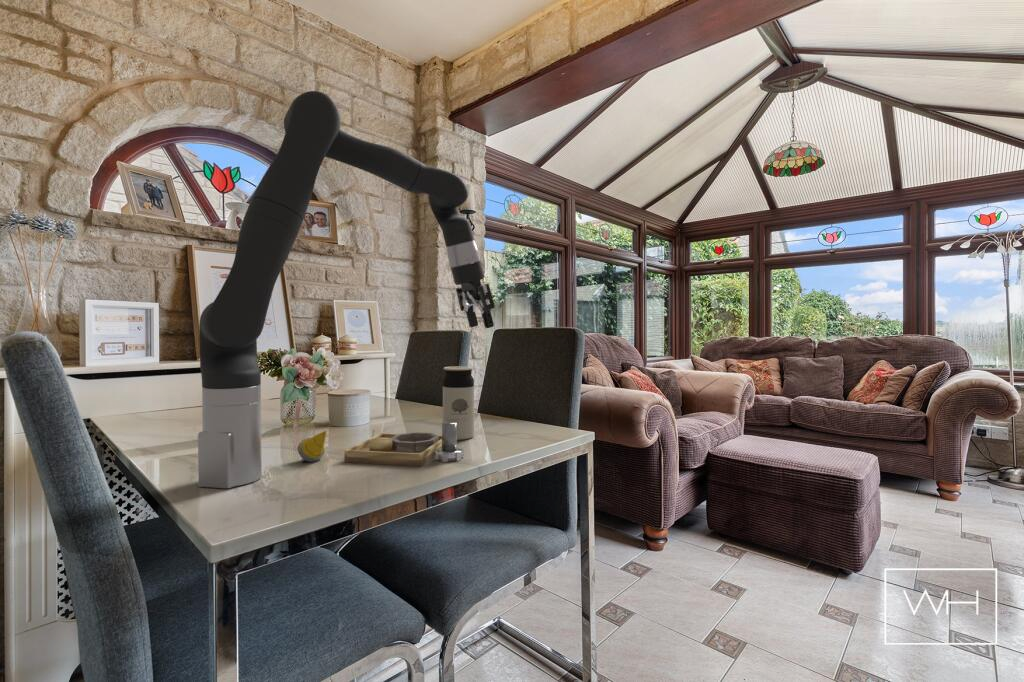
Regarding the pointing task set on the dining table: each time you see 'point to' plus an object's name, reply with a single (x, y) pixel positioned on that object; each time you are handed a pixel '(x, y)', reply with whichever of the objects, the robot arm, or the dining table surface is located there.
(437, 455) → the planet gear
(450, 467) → the dining table surface
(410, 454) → the carrier
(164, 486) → the dining table surface
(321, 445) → the yellow grey teardrop
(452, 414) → the travel mug
